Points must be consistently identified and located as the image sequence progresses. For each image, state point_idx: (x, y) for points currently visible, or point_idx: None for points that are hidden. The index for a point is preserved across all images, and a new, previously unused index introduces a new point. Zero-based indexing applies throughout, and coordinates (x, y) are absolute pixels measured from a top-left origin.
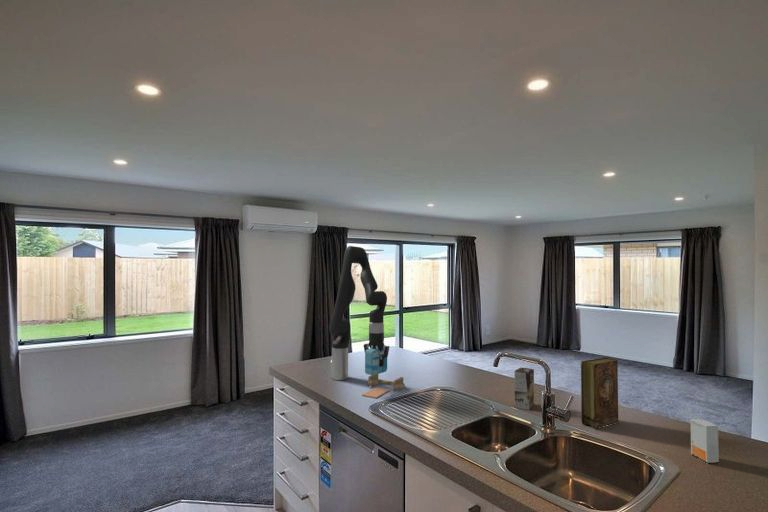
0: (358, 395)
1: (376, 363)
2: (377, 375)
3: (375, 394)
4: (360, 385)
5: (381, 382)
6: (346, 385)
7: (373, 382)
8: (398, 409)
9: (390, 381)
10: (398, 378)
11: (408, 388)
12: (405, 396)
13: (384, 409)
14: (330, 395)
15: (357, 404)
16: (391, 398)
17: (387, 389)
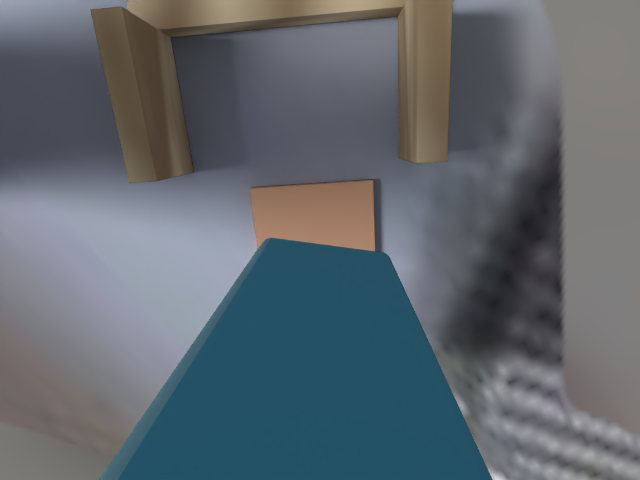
0: None
1: None
2: (136, 36)
3: None
4: (112, 189)
5: (199, 32)
6: (38, 246)
7: (176, 127)
8: (573, 428)
9: (281, 1)
10: (424, 59)
11: (482, 25)
12: (533, 224)
13: (502, 459)
14: (125, 436)
15: None
16: (460, 307)
17: (357, 186)
